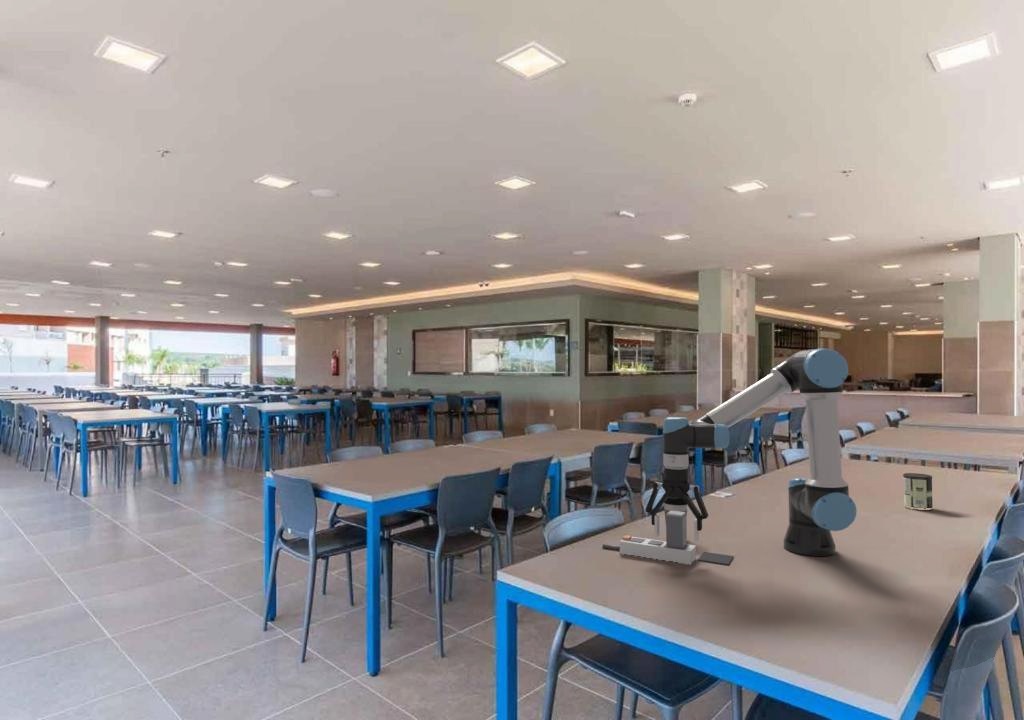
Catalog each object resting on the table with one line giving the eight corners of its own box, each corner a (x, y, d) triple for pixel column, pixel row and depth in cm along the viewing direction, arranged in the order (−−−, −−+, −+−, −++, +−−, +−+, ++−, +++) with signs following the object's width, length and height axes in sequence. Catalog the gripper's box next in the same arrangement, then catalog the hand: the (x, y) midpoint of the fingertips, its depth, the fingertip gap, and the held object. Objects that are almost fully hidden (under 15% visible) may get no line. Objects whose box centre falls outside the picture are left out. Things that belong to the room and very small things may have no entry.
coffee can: (921, 505, 256) (921, 472, 256) (938, 511, 245) (938, 477, 246) (898, 505, 256) (897, 472, 256) (913, 511, 245) (913, 477, 246)
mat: (733, 557, 183) (733, 556, 183) (728, 565, 176) (728, 564, 176) (703, 553, 188) (703, 551, 188) (697, 560, 180) (697, 559, 180)
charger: (686, 544, 183) (686, 512, 183) (682, 548, 178) (682, 515, 179) (670, 542, 185) (670, 510, 185) (666, 546, 181) (666, 513, 181)
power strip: (695, 558, 182) (695, 542, 182) (690, 564, 176) (690, 548, 176) (606, 545, 197) (606, 530, 197) (599, 550, 190) (599, 535, 191)
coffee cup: (689, 542, 200) (689, 498, 200) (663, 541, 201) (663, 497, 202) (687, 535, 208) (687, 493, 208) (662, 534, 210) (662, 492, 210)
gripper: (634, 466, 185) (635, 536, 184) (713, 472, 173) (714, 546, 173) (642, 463, 192) (642, 530, 191) (718, 468, 180) (718, 540, 179)
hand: (676, 538), depth 182 cm, fingers open, 11 cm apart
